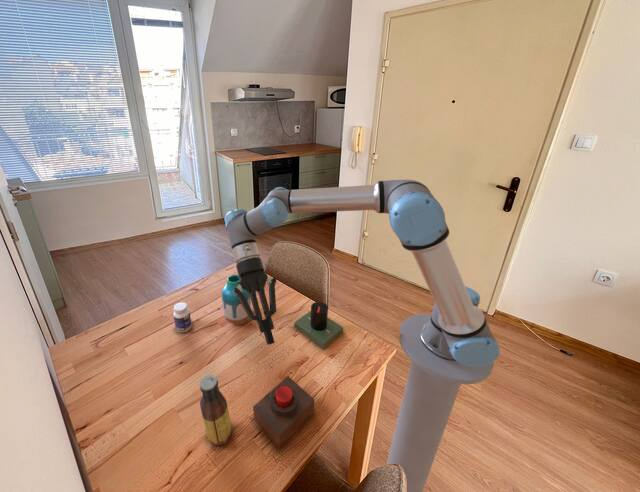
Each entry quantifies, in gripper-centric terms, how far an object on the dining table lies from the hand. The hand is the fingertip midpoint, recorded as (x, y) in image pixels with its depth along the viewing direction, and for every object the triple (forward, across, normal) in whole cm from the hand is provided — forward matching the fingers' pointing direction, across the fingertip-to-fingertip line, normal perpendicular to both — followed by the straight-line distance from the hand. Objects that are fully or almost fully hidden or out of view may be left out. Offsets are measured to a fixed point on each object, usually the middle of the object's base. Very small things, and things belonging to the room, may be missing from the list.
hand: (270, 343), depth 79 cm
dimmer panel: (+3, +25, +24) cm, 35 cm away
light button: (+14, 0, +3) cm, 14 cm away
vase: (-10, -1, +37) cm, 38 cm away
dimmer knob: (+1, +25, +22) cm, 33 cm away
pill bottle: (-13, -20, +40) cm, 47 cm away
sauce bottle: (+17, -17, +10) cm, 26 cm away
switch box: (+19, 0, +8) cm, 21 cm away
